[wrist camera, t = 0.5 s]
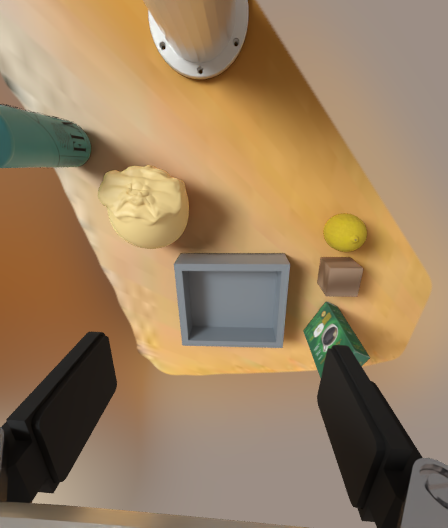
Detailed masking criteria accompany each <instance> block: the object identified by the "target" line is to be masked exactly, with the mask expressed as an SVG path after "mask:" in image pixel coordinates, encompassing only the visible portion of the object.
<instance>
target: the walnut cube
mask: <svg viewBox="0 0 448 528" xmlns="http://www.w3.org/2000/svg"><path fill="white" fill-rule="evenodd" d="M362 273H363V268H362V267H361V266H360V265H359V264H358V263H356V262H355V261H354V260H353V259H352V258H350V257H321V259H320V266H319V273H318V280H317V283H318V285H319V286H320V288H321V289H322V291H323V293H324V294H325V296H342V297H357V296H358V292H359V287H360V282H361V278H362Z"/></svg>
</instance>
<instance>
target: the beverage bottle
mask: <svg viewBox="0 0 448 528" xmlns="http://www.w3.org/2000/svg"><path fill="white" fill-rule="evenodd" d="M28 111H29V110H27V111H24V110H20V109H17V108H16V107H15V108H14V107H13V108H12V107H10V106H9V107H8V106H7V105H6V106H4V105H1V104H0V168H18V167H56V168H57V167H58V168H59V167H78V166H81V165H82V164H85V163H86V161H87V160H88V159H89V157H90V153H91V145H90V141H89V138H88V136H87V135H86V133H85V132H84V131H83V130H82V129H81V128H80V127H79V126H77V125H76V123H75V124H74V123H73V122H69V121H68V120H67V121H65V119H64V120H61V119H62V118H61V119H57V118H58V117H55V118H53V116H51V117H50V116H46V114H44V115H40V114H36V113H35V112H32V111H31V112H28ZM37 113H38V112H37Z"/></svg>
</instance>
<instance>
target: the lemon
mask: <svg viewBox="0 0 448 528" xmlns="http://www.w3.org/2000/svg"><path fill="white" fill-rule="evenodd" d="M323 234H324V238H325V240H326V242H327V243H328V244H329V245H330V246H331V247H332V248H334V249H336V250H338V251H342V252H350V251H354V250H356V249H358V248H359V247H361V246H362V245H363V244H364V242H365V240H366V237H367V229H366V226H365V225H364V223H363V222H362V220H360V219H359V218H358V217H356V216H354V215H352V214H345V213H343V214H338V215H335V216H333V217H332V218H330V219H329V220H328V221H327V223H326V224H325V227H324V231H323Z"/></svg>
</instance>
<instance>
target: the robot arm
mask: <svg viewBox="0 0 448 528" xmlns="http://www.w3.org/2000/svg"><path fill="white" fill-rule="evenodd" d="M143 1H144V3H145V5H146V6H147V8H148V20H149V25H150V31H151V34H152V37H153V40H154V43H155V45H156V47H157V49H158V51H159V53H160V54H161V56H162V57H163V59H164V60H165V61H166V62H167V63H168V64H169V66H170V67H171V68H173V69H174V70H175V71H176V72H178V73H179V74H181V75H183V76H185V77H188V78H192V79H208V78H212V77H215V76H217V75H219V74H221V73H222V72H223V71H225V70H226V69H227V68H228V67H229V66H230V65H231V64H232V63H233V62H234V61H235V59H236V57H237V56H238V54H239V53H240V51H241V48H242V46H243V43H244V41H245V37H246V33H247V27H248V0H143ZM235 43H238V46H234V44H235ZM163 47H166V48H165V50H163ZM201 70H202V71H203V73H202V74H200V73H199V72H200V71H201ZM116 386H117V381H116V376H115V370H114V365H113V360H112V354H111V349H110V344H109V338H108V337H107V336H105V334H104V333H102V332H88V333H87V334H86V335H85V336H84V337H83V338H82V339H81V340H80V341H79V342H78V343H77V345H76V346H75V347H74V348H73V349H72V350H71V351H70V352H69V353H68V354H67V355H66V357H64V359H62V361H61V362H60V363H59V364H58V365H57V366H56V367H55V368H54V369H53V370H52V371H51V372H50V373H49V375H48V376H47V377H46V378H45V379H44V380H43V381H42V382H41V383H40V384H39V385H38V386H37V387H36V389H34V391H33V392H32V393H31V394H30V395H29V396H28V397H27V398H26V399H25V401H23V402H22V403H21V404H20V406H19V407H18V408H17V409H16V410H15V411H14V412H13V413H12V414H11V415H10V416H9V417H8V418H7V422H6V423H5V424H4V425H3V426H2V427H0V528H307V527H296V526H286V525H276V524H266V523H256V522H245V521H235V520H224V519H214V518H202V517H191V516H181V515H170V514H159V513H147V512H137V511H125V510H113V509H101V508H89V507H78V506H66V505H51V504H35V503H32V500H33V499H34V497H35V496H36V494H37V493H38V492H44V493H54V491H55V490H56V488H57V486H58V484H59V483H60V482H63V481H64V480H65V479H66V477H67V476H68V474H69V472H70V471H71V469H72V467H73V465H74V463H75V462H76V460H77V458H78V456H79V455H80V453H81V451H82V449H83V447H84V446H85V444H86V442H87V440H88V439H89V437H90V435H91V433H92V431H93V430H94V428H95V426H96V424H97V423H98V421H99V419H100V417H101V415H102V413H103V412H104V410H105V408H106V406H107V405H108V403H109V401H110V399H111V398H112V396H113V394H114V392H115V390H116ZM317 399H318V406H319V409H320V411H321V415H322V418H323V421H324V424H325V427H326V430H327V433H328V436H329V439H330V442H331V445H332V448H333V451H334V454H335V457H336V460H337V463H338V466H339V469H340V472H341V475H342V478H343V481H344V484H345V487H346V490H347V493H348V496H349V499H350V501H351V504H352V506H353V507H356V508H358V511H359V514H360V517H361V520H362V521H370V522H375V524H376V526H377V528H448V465H445V464H444V463H442V462H439V461H438V460H434V459H430V458H422V456H421V455H420V453H419V451H418V450H417V448H416V447H415V445H414V444H413V442H412V440H411V439H410V437H409V436H408V434H407V432H406V431H405V429H404V428H403V426H402V425H401V423H400V421H399V420H398V418H397V417H396V415H395V414H394V412H393V410H392V409H391V407H390V406H389V404H388V402H387V401H386V399H385V398H384V396H383V395H382V393H381V392H380V390H379V388H378V387H377V385H376V384H375V383H374V382H372V381H370V380H369V378H368V376H367V375H366V373H365V372H364V370H363V368H362V367H361V365H360V363H359V362H358V360H357V359H356V357H355V355H354V354H353V352H352V351H351V349H350V347H349V346H346V345H332V347H331V348H328V349H327V353H326V357H325V362H324V367H323V371H322V376H321V381H320V386H319V390H318V395H317Z"/></svg>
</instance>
